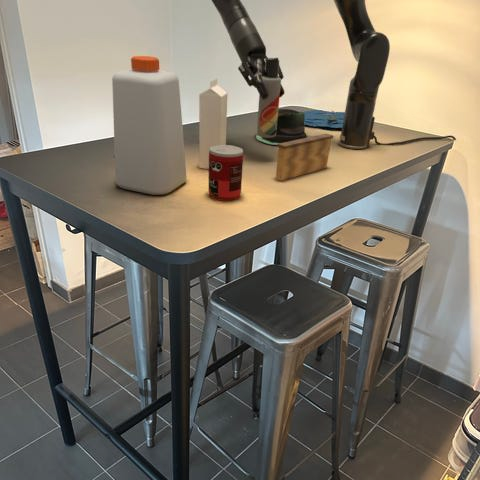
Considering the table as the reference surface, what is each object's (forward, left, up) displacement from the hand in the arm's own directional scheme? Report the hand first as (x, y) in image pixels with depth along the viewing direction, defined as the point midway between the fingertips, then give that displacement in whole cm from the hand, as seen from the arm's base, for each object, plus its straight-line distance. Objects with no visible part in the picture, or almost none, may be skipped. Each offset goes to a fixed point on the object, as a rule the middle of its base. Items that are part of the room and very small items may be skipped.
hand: (274, 96), depth 127 cm
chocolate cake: (-17, -21, -18) cm, 32 cm away
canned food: (+23, +23, -18) cm, 37 cm away
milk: (+18, +1, -18) cm, 26 cm away
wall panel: (-4, +13, -18) cm, 22 cm away
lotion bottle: (+1, -2, -11) cm, 11 cm away
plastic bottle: (+38, +11, -18) cm, 44 cm away
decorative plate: (-47, -42, -18) cm, 65 cm away
